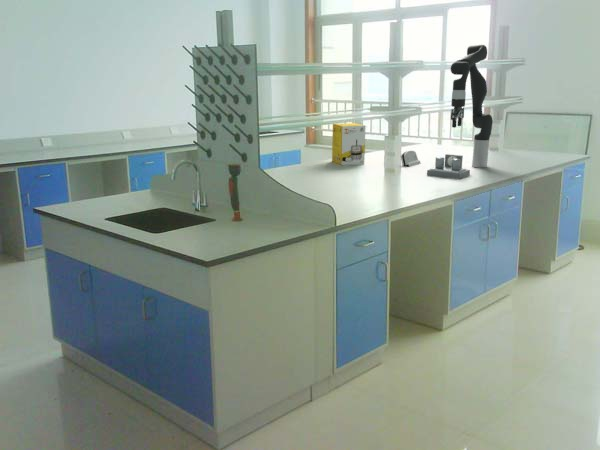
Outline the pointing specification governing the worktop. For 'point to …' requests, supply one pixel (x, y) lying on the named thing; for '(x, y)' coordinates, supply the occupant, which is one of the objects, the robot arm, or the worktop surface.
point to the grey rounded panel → (409, 158)
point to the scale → (449, 169)
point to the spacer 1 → (439, 163)
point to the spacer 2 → (456, 164)
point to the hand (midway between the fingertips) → (456, 126)
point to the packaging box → (348, 144)
